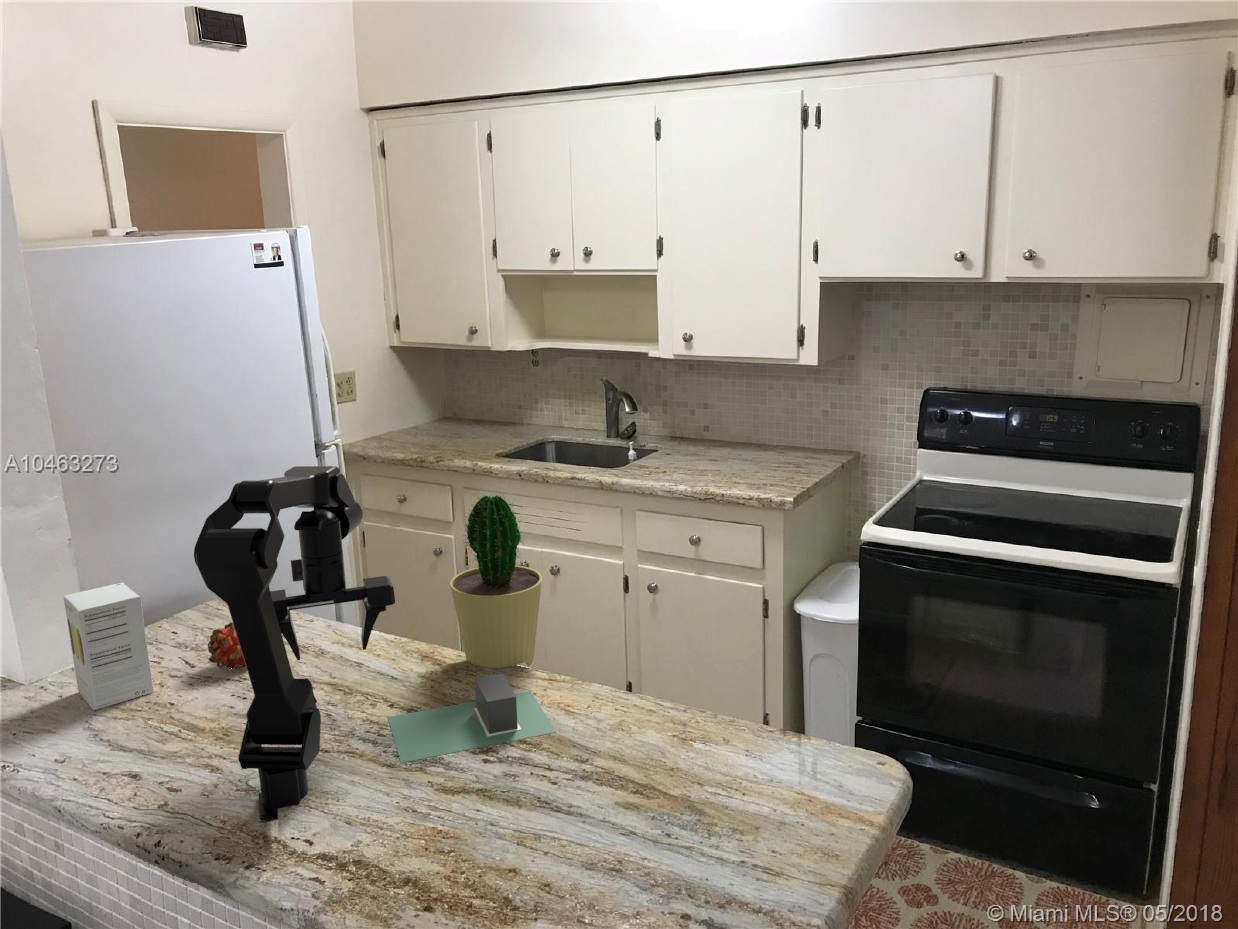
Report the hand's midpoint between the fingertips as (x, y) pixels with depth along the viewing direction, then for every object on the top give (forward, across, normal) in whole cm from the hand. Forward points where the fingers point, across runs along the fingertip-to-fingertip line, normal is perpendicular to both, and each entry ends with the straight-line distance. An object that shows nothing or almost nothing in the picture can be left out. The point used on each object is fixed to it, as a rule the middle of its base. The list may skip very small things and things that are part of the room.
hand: (331, 654), depth 142 cm
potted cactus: (+12, -28, -14) cm, 34 cm away
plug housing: (+10, -22, +7) cm, 25 cm away
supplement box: (+12, +33, -27) cm, 44 cm away
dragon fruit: (+12, +14, -31) cm, 36 cm away
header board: (+12, -18, +9) cm, 23 cm away
